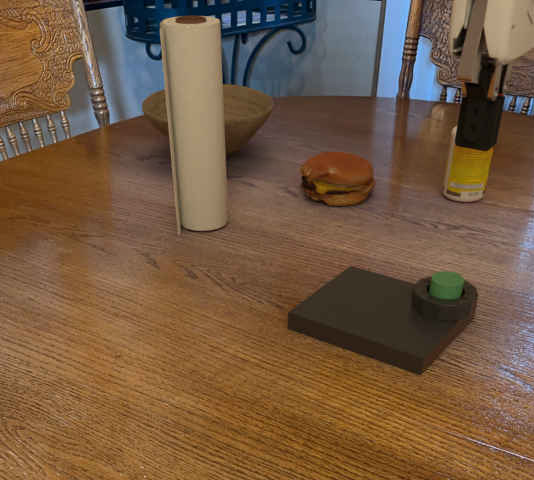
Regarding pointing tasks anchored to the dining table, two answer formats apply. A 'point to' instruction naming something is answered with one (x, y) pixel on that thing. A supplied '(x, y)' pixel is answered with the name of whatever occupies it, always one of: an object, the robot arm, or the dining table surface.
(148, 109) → the bowl
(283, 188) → the dining table surface
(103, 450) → the dining table surface
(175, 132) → the paper towel roll
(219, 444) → the dining table surface
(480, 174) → the supplement bottle
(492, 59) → the robot arm
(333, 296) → the scale
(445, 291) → the button
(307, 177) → the burger
